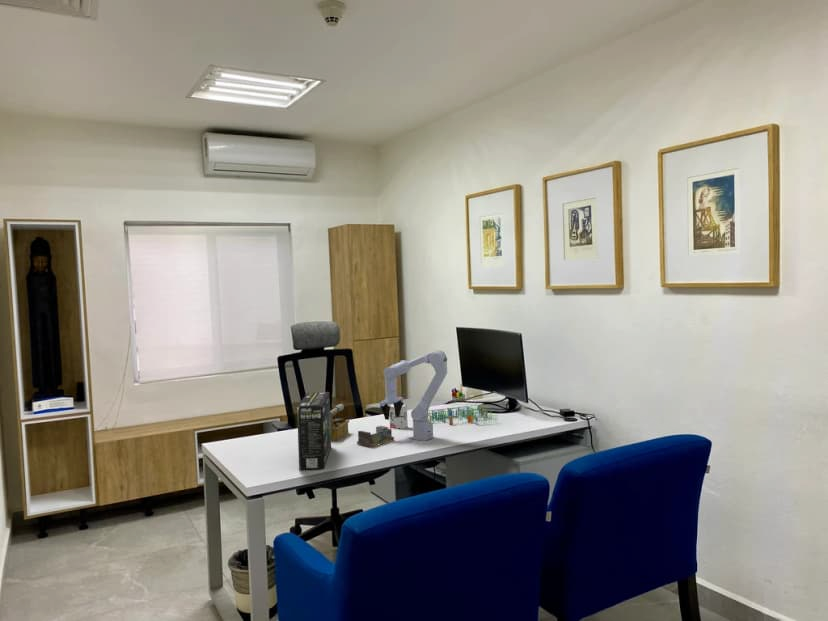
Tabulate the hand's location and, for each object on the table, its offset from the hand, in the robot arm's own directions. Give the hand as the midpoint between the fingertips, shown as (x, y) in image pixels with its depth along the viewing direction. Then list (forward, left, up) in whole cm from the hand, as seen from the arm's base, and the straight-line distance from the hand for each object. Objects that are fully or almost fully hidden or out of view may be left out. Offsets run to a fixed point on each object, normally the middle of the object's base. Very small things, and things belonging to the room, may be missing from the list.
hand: (392, 418), depth 303 cm
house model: (-7, -47, -10) cm, 48 cm away
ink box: (+11, -16, -10) cm, 22 cm away
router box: (+3, +46, -10) cm, 47 cm away
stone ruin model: (0, +12, -9) cm, 15 cm away
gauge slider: (-1, +7, -7) cm, 10 cm away
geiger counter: (+23, +19, -10) cm, 31 cm away
